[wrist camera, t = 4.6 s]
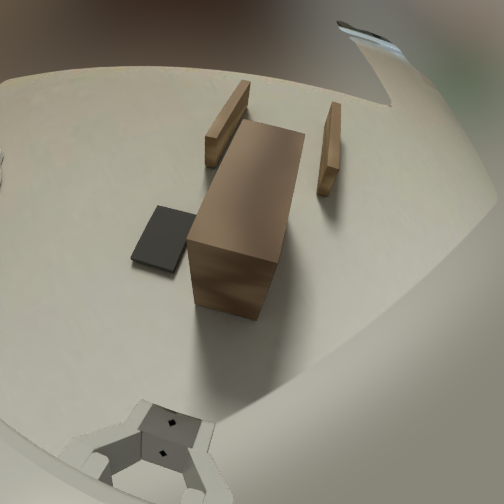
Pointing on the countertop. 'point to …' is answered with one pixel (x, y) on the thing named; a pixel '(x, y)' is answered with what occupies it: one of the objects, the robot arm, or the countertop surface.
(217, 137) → the channel
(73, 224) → the countertop surface
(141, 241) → the mat
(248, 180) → the walnut block
